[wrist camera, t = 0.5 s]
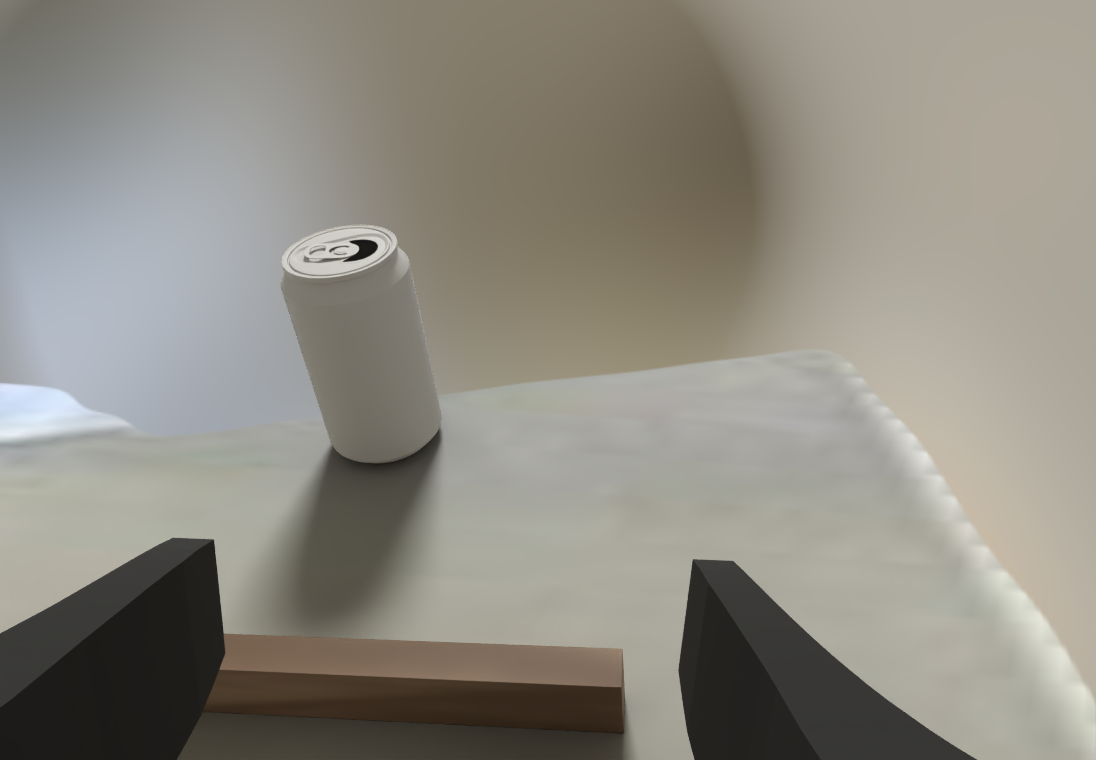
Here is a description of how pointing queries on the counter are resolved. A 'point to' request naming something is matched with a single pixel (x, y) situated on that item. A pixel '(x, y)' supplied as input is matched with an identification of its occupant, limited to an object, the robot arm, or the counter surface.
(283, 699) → the wooden u-shaped frame
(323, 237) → the beverage can
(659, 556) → the counter surface
